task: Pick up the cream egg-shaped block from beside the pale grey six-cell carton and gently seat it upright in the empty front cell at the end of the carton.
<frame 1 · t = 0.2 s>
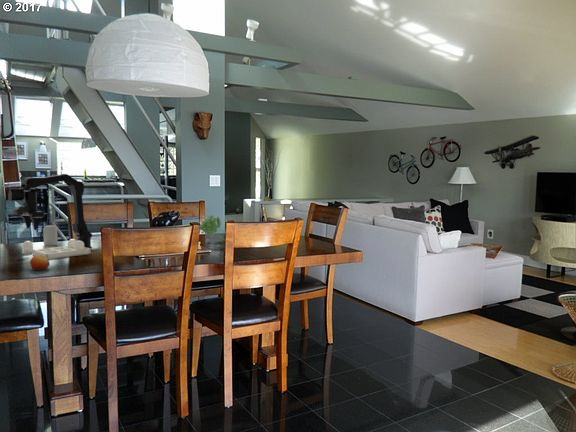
hand: (31, 229, 250), 14 cm above the table, tool pointing down, fingers open, 9 cm apart
fruit: (40, 270, 213), on the table
plant cuttings: (214, 243, 300), on the table
can: (50, 245, 279), on the table
carton: (62, 254, 250), on the table
egg: (28, 253, 253), on the table
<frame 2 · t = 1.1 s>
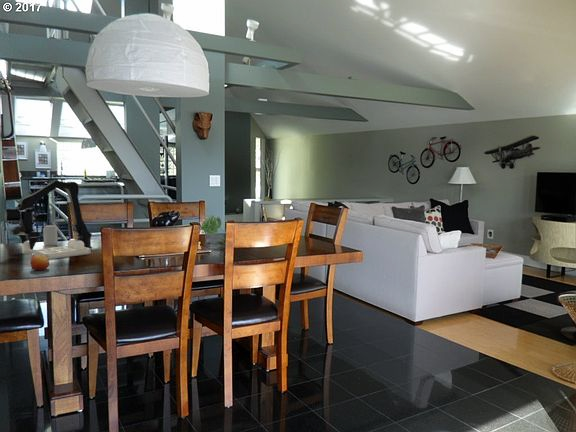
hand: (28, 248, 252), 3 cm above the table, tool pointing down, fingers open, 9 cm apart
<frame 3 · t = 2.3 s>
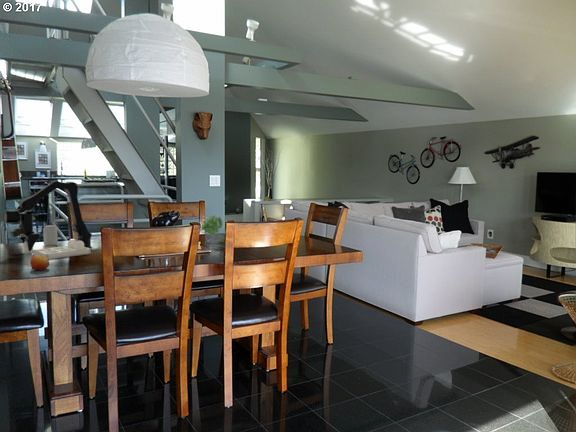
hand: (27, 250, 252), 2 cm above the table, tool pointing down, fingers closed on egg, 5 cm apart
egg: (27, 253, 253), on the table, touching gripper
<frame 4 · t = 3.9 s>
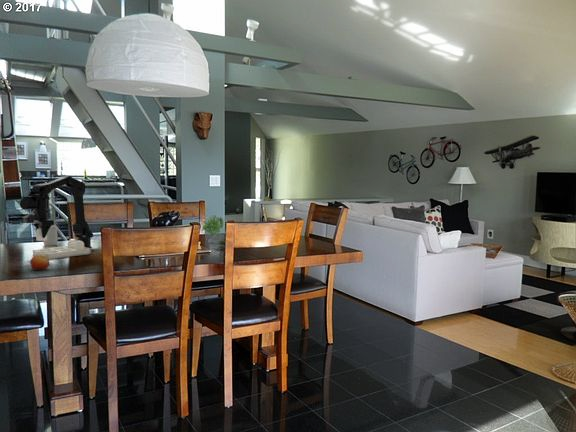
hand: (41, 237, 245), 10 cm above the table, tool pointing down, fingers closed on egg, 5 cm apart
egg: (41, 240, 245), point 9 cm above the table, touching gripper
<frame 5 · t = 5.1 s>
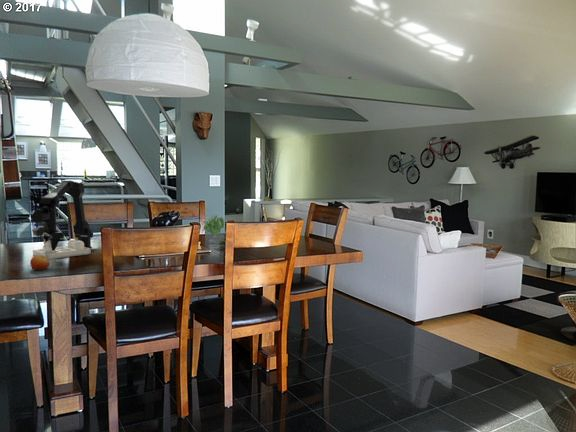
hand: (51, 249, 242), 4 cm above the table, tool pointing down, fingers closed on egg, 5 cm apart
egg: (50, 252, 242), point 3 cm above the table, touching gripper
when the fingers open (4 cm above the table, at t = 5.9 s): egg drops 2 cm, resting on carton.
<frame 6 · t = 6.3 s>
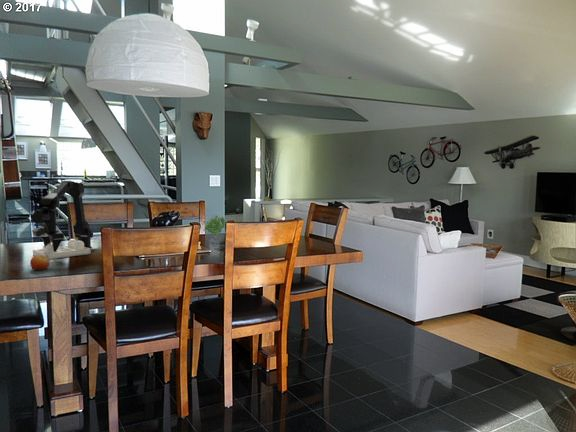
hand: (51, 250, 242), 4 cm above the table, tool pointing down, fingers open, 9 cm apart
egg: (50, 256, 242), point 1 cm above the table, touching carton
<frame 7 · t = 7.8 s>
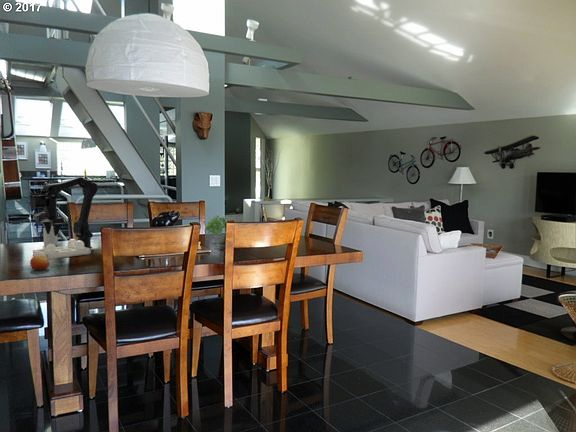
hand: (51, 234, 255), 10 cm above the table, tool pointing down, fingers open, 9 cm apart
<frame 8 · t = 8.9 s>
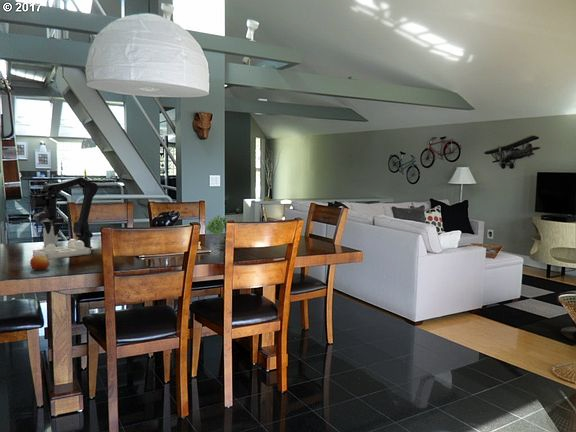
hand: (51, 234, 255), 10 cm above the table, tool pointing down, fingers open, 9 cm apart
at the end: egg 0.1 cm from the target spot on the carton, point 0.6 cm above the carton's base; egg tilted 0°; the gripper is holding nothing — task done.
